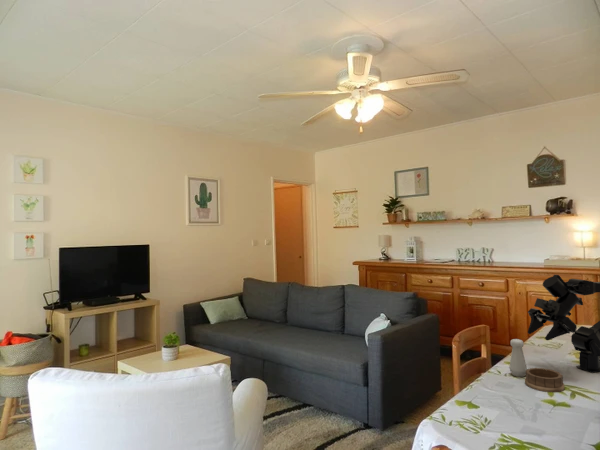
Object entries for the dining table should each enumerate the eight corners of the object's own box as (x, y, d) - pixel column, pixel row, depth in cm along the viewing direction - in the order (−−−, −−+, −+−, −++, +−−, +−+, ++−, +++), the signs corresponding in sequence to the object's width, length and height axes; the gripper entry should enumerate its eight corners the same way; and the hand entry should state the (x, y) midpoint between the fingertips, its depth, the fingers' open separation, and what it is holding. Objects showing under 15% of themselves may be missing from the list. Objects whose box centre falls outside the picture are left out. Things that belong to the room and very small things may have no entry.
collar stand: (542, 377, 144) (542, 365, 144) (573, 389, 132) (572, 376, 133) (517, 381, 140) (516, 370, 140) (545, 394, 129) (545, 381, 129)
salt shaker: (529, 378, 144) (528, 342, 144) (512, 377, 145) (510, 341, 145) (524, 372, 149) (522, 337, 150) (507, 372, 150) (506, 337, 151)
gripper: (531, 287, 158) (506, 316, 157) (568, 294, 140) (540, 327, 138) (550, 306, 159) (525, 335, 158) (589, 316, 141) (561, 349, 139)
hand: (537, 336), depth 148 cm, fingers open, 9 cm apart
